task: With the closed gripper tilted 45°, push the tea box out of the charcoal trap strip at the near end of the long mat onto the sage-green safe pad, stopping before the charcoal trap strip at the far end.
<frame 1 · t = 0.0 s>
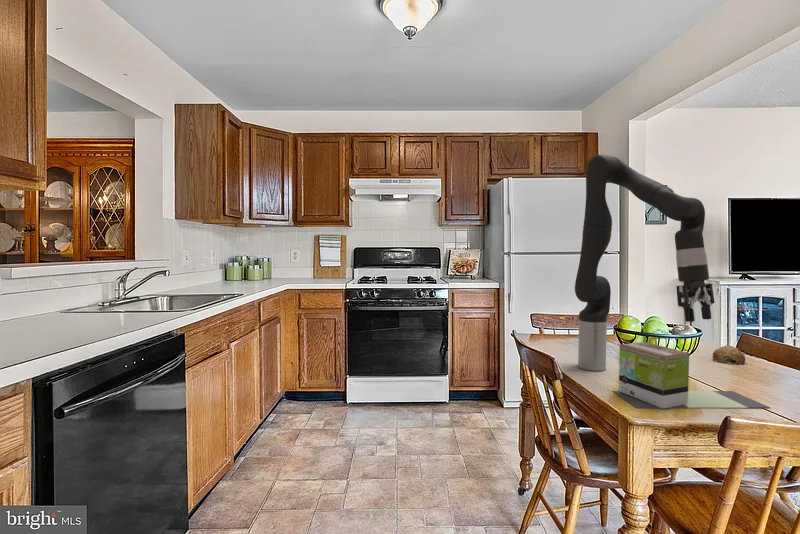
hand: (698, 320, 130), 22 cm above the table, tool pointing down, fingers open, 8 cm apart
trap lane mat: (687, 399, 129), on the table
tea box: (651, 399, 129), resting on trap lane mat
bread roll: (727, 362, 173), on the table
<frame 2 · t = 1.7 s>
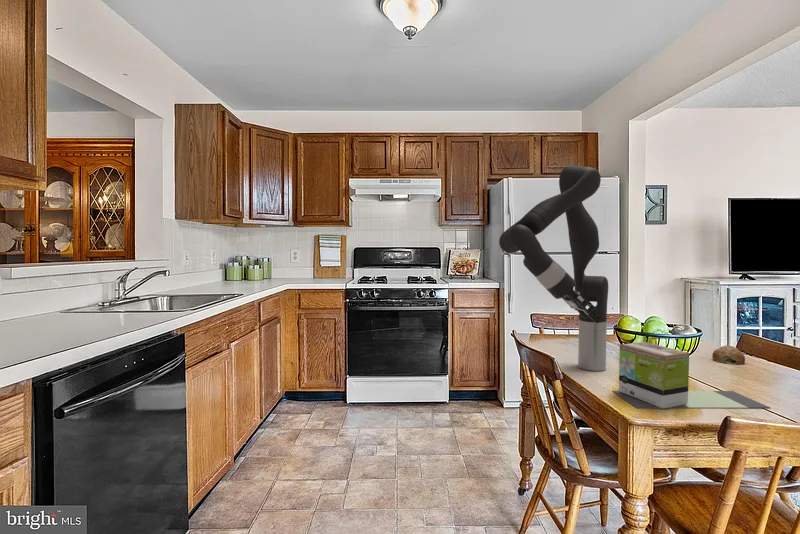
hand: (593, 318, 132), 23 cm above the table, tool tilted 45°, fingers open, 7 cm apart
nothing on the table moved.
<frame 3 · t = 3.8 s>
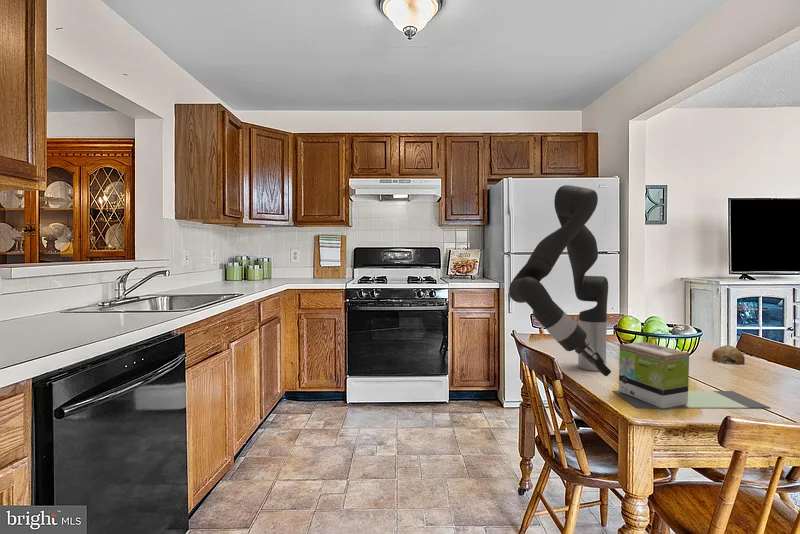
hand: (607, 373, 129), 8 cm above the table, tool tilted 45°, fingers closed
nothing on the table moved.
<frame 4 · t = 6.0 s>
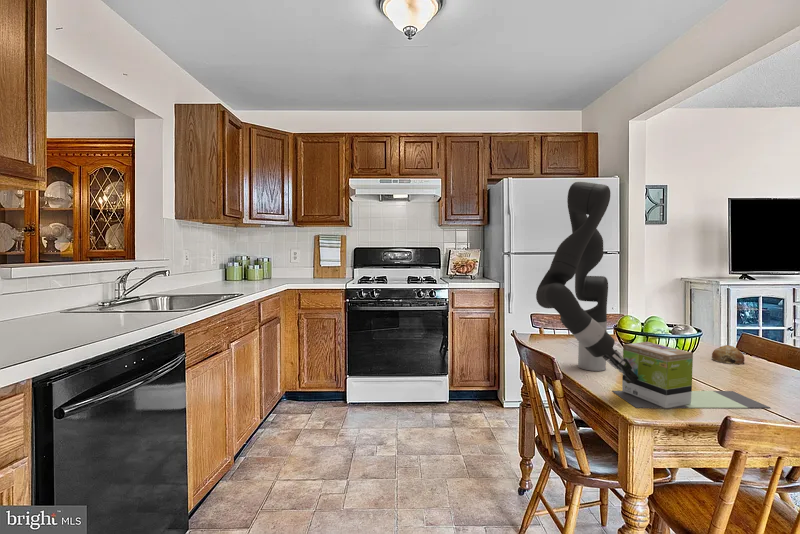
hand: (634, 379, 129), 6 cm above the table, tool tilted 45°, fingers closed
tea box: (655, 399, 129), resting on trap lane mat, touching gripper
everything else where it was.
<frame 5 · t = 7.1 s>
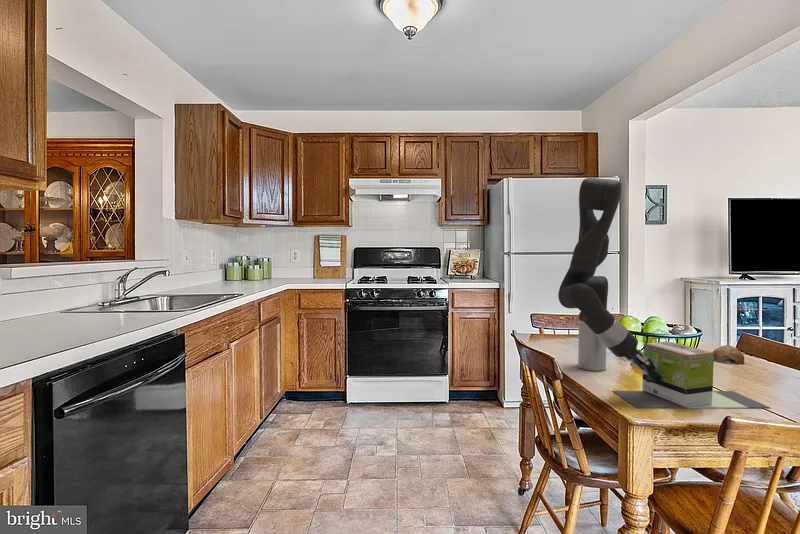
hand: (657, 379, 129), 6 cm above the table, tool tilted 45°, fingers closed
tea box: (675, 398, 130), resting on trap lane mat
everything else where it was.
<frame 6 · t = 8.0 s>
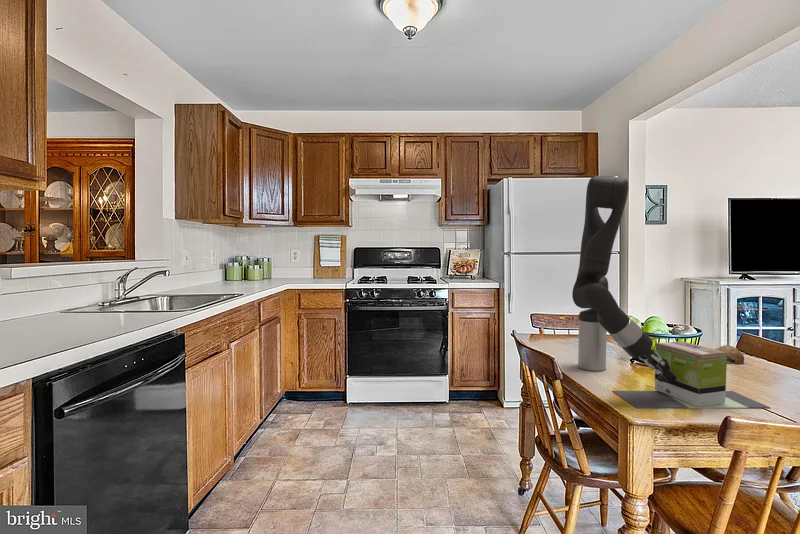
hand: (672, 379, 129), 6 cm above the table, tool tilted 45°, fingers closed
tea box: (688, 397, 130), resting on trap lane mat, touching gripper
everything else where it was.
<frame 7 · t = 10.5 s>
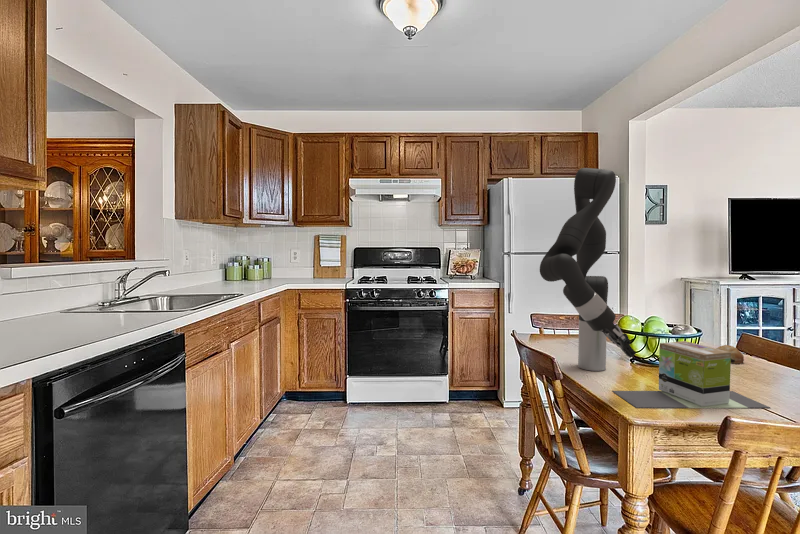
hand: (631, 354, 130), 13 cm above the table, tool tilted 40°, fingers closed
tea box: (692, 397, 130), resting on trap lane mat
everything else where it was.
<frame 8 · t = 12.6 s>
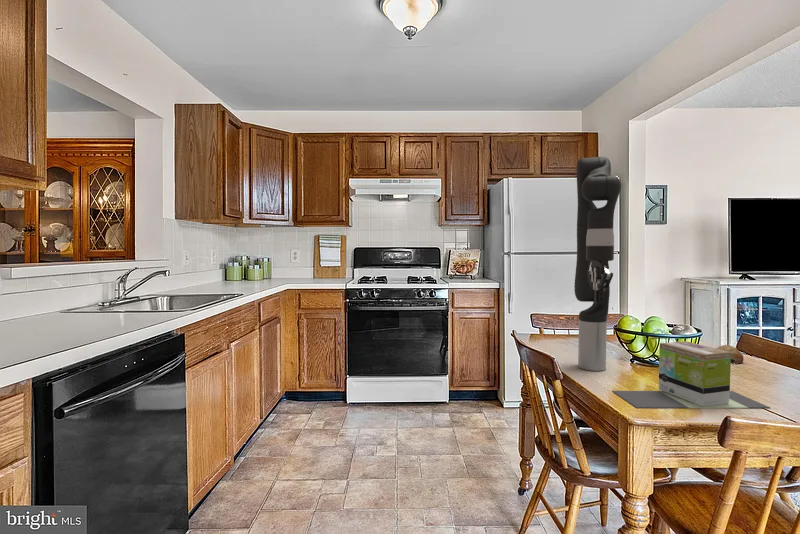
hand: (598, 302, 134), 27 cm above the table, tool pointing down, fingers closed
at the end: tea box inside the target area (2.3 cm from its centre), resting on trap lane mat; tea box tilted 0° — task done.
